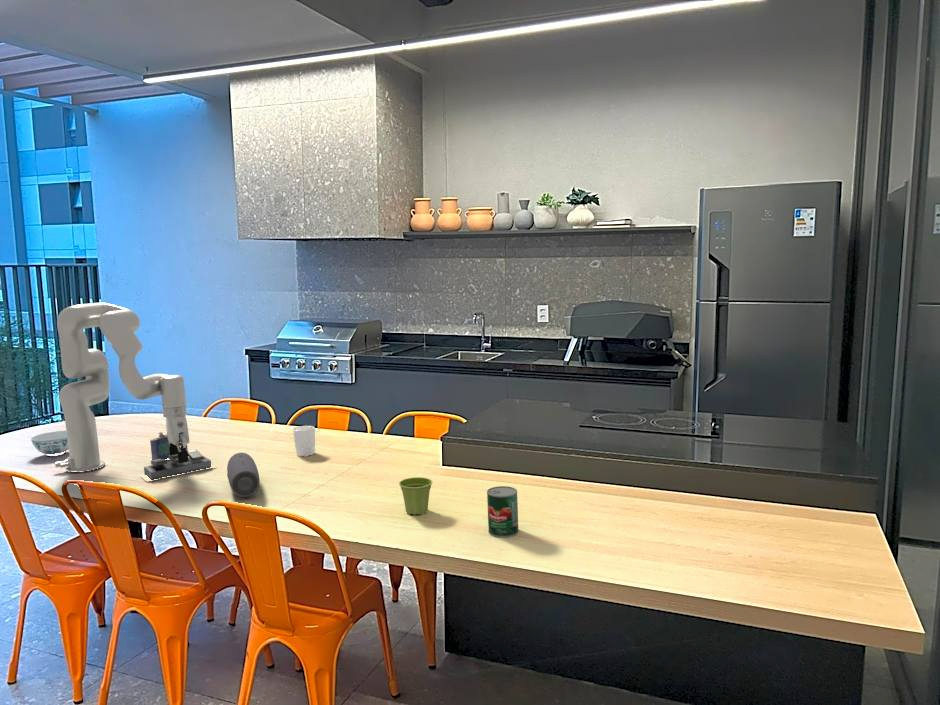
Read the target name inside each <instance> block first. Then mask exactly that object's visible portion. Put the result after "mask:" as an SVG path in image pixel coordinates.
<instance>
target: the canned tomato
mask: <svg viewBox="0 0 940 705" xmlns="http://www.w3.org/2000/svg"><path fill="white" fill-rule="evenodd" d="M486 495H487V498H486V500H487V501H486V502H487V523H488V524H487V525H488V526H487V527H488V534H489V535H490V536H493V537H495V538H510V537H515V536H516V535H518V534H519V533H520V532H519V506H518V502H519V501H518V490H517V488H515V487H512V486H508V485H507V486H506V485H505V486H504V485H503V486H502V485H501V486H494V487H493V486H492V487H490V488H488V489H487V491H486Z"/></svg>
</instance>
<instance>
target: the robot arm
mask: <svg viewBox="0 0 940 705" xmlns="http://www.w3.org/2000/svg"><path fill="white" fill-rule="evenodd" d="M140 325H141V320H140V318H139V316H138V315H137V313H136V312H135V311H133V310H131V309H130V308H129V309H128V308H126V307H122V306H117V305H115V304H111V303H107V302H93V303H82V304H73V305H70V306H68V307H66V308H64V309H62V310H61V311H60V312H59V314H58V316H57V318H56V326H57V333H58V336H59V343H60V358H61V359H60V360H61V369H62V373H63V374H64V376H65V377H66V378H68V379H73V380H75V379H81V378H85V379H83V380H78V381H74V382H70V383H68V384H66V385H64V386H62V387H61V389H60V390H59V394H58V399H59V403H60V406H61V409H62V411H63V416H64V423H65V428H66V430H65V431H67V440H68V448H69V449H68V455H69V456H67V458H66V459H64V460H63V461H56V462H54V466H55V468H56V469H57V468H65V471H66V470H68V471H87V470H93V469H97V468H100V467H102V466H104V465H105V466H106V462H105V460H102V459H101V457H100V456H101V454H100V448H99V439H98V438H99V437H98V431H97V428H98V427H97V421H96V416H95V414H94V412H93V411H92V410H91V408H90V407H91V406H94V405H98V404H101V403H102V402H105V401H106V400H107V399H108V397H109V396H110V374H109V373H110V372H109V362H108V358H107V356H106V355H105V353H104V352H103V351H102V350H100V349H97V348H89V341H88V337H87V334H86V333H85V332H84V331H83V330H84V329H90V328H99V329H100V331H101V333H102V334H103V336H104V337H105V339H106V341H107V342H108V343H109V344H110V346H111V348H112V349H113V351H114V353H115V354H116V355H117V358H118V373H119V377H120V380H121V382H122V384H123V385H124V387H125V388H126V389H127V391H128V392H129V394H130V395H132V397H134V399H136V400H140V401H141V400H142V401H143V400H148V399H151V398H154V397H159V396H160V397H161V406H162V416H163V417H164V418H165V424H166V434H167V438H168V441H169V452H170V456H171V455H176V454H178V462H179V463H185V462H188V461H189V460H188V458H189V457H188V451H189V450H188V444H190V442H191V441H190V433H189V427H188V421H187V415H188V411H187V399H186V391H185V390H186V388H185V386H186V385H185V380H184V379H185V378H184V377H183V375H180V374H166V373H154V374H153V373H152V374H150V375H146V376H145V375H144V376H142V375H141V373H140V371H139V370H138V368H137V366H136V362H135V361H136V357H137V355H139V353H140V352H141V351H142V350H143V348H144V347H143V343H142V342H141V341H140V339H139V338H138V337H137V335H136V333H135V332H137V330H139V328H140ZM105 466H104V467H105ZM102 468H103V467H102ZM100 469H101V468H100ZM97 470H98V469H97ZM93 471H94V470H93Z"/></svg>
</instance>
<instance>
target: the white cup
mask: <svg viewBox="0 0 940 705" xmlns="http://www.w3.org/2000/svg"><path fill="white" fill-rule="evenodd" d="M292 431H293V432H292V433H293V440H294V441H293V442H294V446H295V453H296V454H297V455H298V456H297V455H296V456H297V457H302V456H304V457H309V456H308V455H311V456H314V455H315V454H316V428H315V426H314V425H301V426H300V425H299V426H295V427H293V428H292ZM314 453H315V454H314ZM313 454H314V455H313Z"/></svg>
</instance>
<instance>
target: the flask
mask: <svg viewBox="0 0 940 705" xmlns="http://www.w3.org/2000/svg"><path fill="white" fill-rule="evenodd" d="M157 435H158V437H155V438H152V439H150V441H149V443H150V452H151V461H153V460H158V459H167V458H169V455H170V452H169V441H168V438H167V433H166V434H163V432H162V431H160V432H159V433H157Z"/></svg>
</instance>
